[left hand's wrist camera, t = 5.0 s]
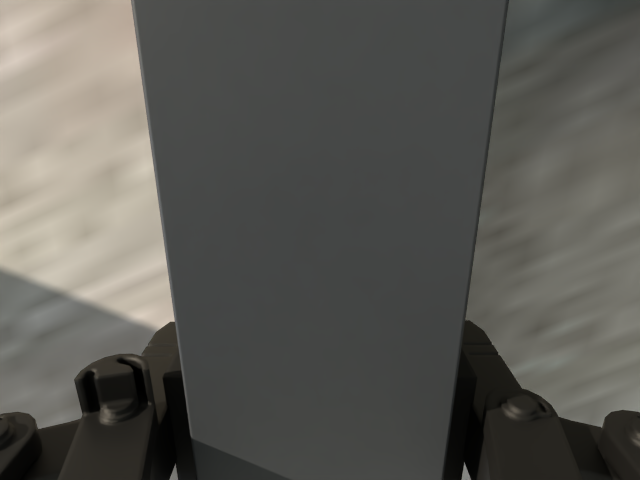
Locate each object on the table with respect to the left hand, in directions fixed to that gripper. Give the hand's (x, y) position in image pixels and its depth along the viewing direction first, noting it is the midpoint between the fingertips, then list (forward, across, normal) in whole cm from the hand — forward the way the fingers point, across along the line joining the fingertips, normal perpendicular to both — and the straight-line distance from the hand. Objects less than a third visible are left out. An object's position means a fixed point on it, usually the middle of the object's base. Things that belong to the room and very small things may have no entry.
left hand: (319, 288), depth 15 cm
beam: (+1, 0, -32) cm, 32 cm away
